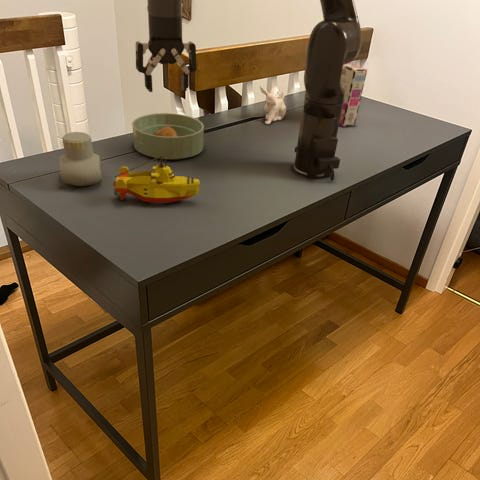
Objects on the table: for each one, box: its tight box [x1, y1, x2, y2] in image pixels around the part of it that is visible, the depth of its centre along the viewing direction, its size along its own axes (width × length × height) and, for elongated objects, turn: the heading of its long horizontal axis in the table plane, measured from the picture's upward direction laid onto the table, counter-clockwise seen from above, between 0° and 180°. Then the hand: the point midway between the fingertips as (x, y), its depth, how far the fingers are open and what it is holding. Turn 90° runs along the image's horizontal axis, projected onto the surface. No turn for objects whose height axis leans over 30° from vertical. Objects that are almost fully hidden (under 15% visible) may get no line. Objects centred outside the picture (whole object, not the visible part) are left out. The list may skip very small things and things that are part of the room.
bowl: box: [131, 112, 205, 160], centre depth 123 cm, size 18×18×6 cm
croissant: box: [154, 127, 178, 137], centre depth 124 cm, size 5×11×4 cm, turn 21°
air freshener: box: [59, 131, 103, 187], centre depth 103 cm, size 11×8×10 cm
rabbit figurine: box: [259, 83, 287, 125], centre depth 147 cm, size 12×8×10 cm, turn 138°
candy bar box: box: [339, 62, 368, 128], centre depth 148 cm, size 11×5×16 cm, turn 25°
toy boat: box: [112, 155, 201, 204], centre depth 99 cm, size 6×18×10 cm, turn 93°
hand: (167, 90), depth 116 cm, fingers open, 8 cm apart
